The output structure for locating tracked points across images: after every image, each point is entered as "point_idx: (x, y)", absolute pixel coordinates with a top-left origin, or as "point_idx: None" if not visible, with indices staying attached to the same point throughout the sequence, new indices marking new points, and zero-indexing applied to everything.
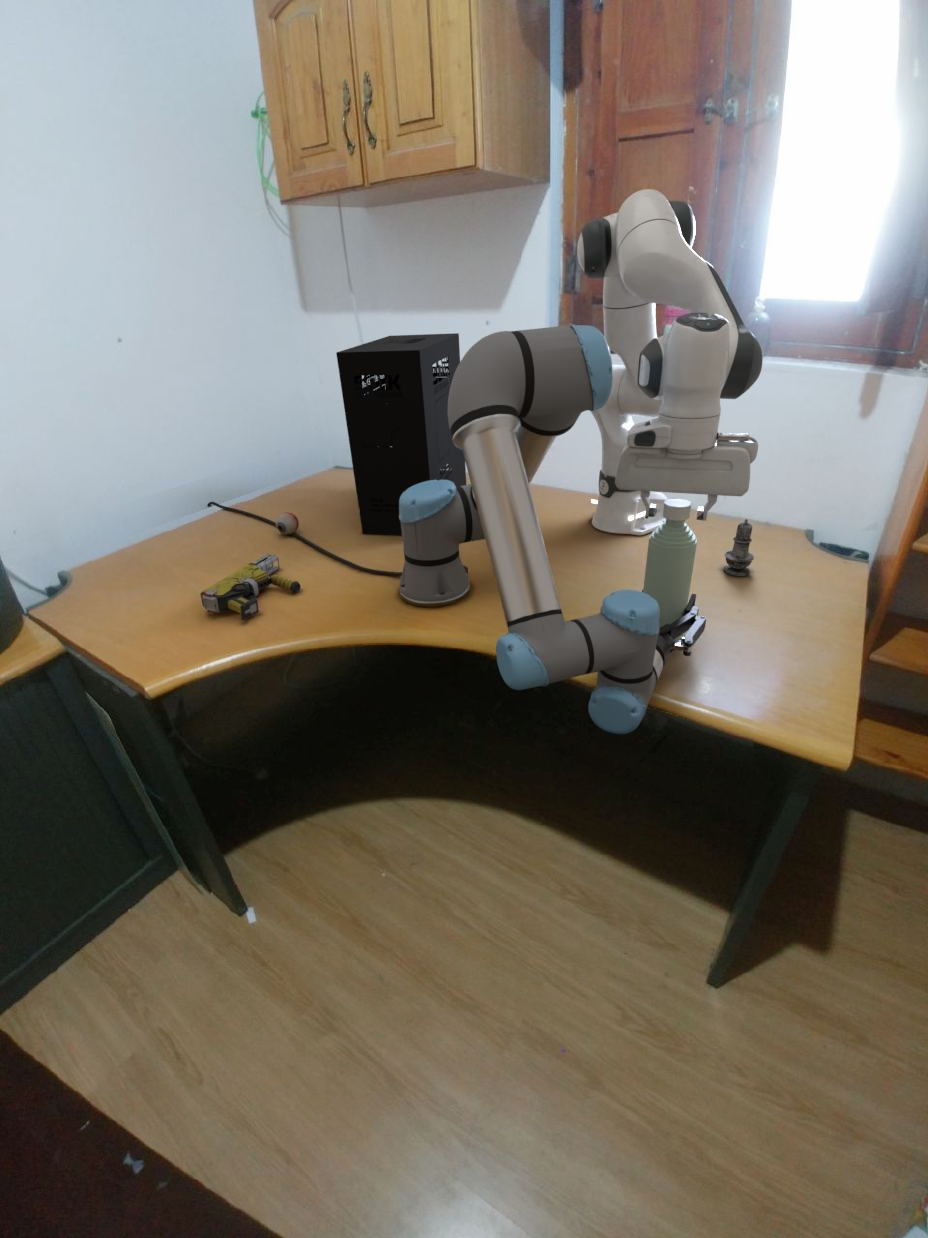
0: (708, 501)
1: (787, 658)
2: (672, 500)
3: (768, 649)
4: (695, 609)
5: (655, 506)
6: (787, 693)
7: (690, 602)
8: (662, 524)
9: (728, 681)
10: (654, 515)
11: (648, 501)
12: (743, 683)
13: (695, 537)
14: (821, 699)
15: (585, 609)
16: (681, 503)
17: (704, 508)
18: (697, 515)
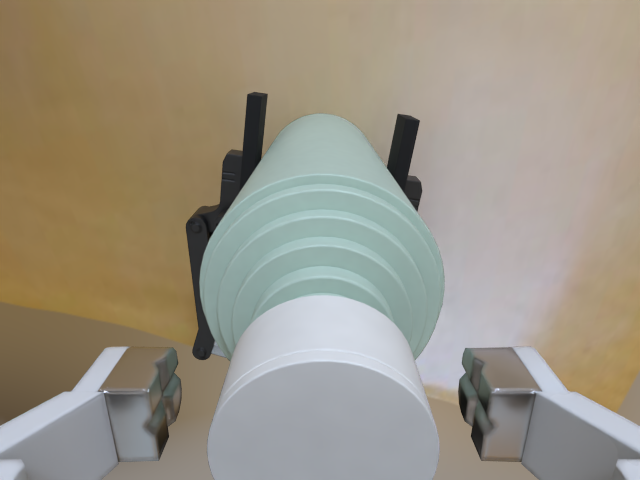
0: (596, 449)
1: (607, 192)
2: (274, 416)
3: (575, 163)
4: (411, 202)
5: (154, 436)
6: (566, 317)
7: (398, 183)
8: (247, 294)
9: (462, 307)
10: (178, 411)
11: (74, 467)
12: (490, 306)
13: (437, 312)
14: (623, 320)
15: (98, 66)
16: (355, 467)
17: (535, 457)
18: (470, 407)
